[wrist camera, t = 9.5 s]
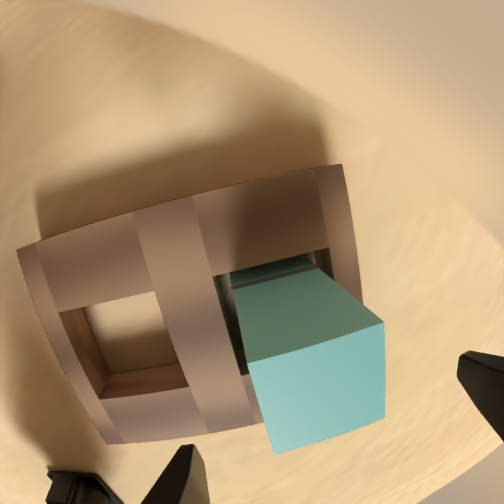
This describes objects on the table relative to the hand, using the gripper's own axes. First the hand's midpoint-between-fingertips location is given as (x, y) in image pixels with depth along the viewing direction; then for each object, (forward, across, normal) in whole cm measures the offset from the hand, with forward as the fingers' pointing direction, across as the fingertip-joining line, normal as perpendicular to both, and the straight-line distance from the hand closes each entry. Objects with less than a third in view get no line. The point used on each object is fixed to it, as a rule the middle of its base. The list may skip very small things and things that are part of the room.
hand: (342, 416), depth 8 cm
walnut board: (+11, +5, 0) cm, 12 cm away
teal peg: (+11, 0, 0) cm, 11 cm away
